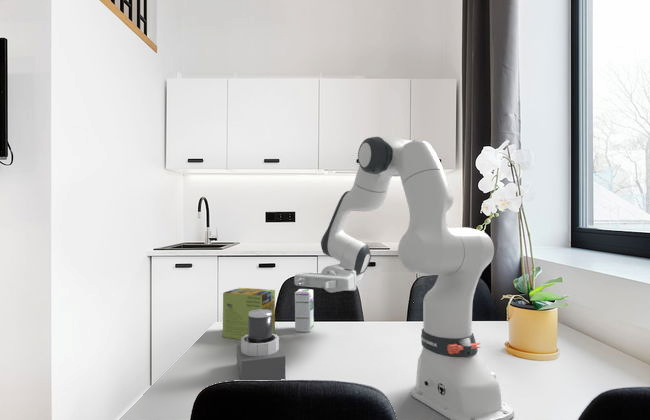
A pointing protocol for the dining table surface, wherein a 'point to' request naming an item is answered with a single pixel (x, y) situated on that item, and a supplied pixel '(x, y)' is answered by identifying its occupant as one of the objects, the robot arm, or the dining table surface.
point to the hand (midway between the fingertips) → (310, 284)
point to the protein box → (244, 309)
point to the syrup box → (304, 310)
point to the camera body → (261, 360)
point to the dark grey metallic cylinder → (260, 326)
